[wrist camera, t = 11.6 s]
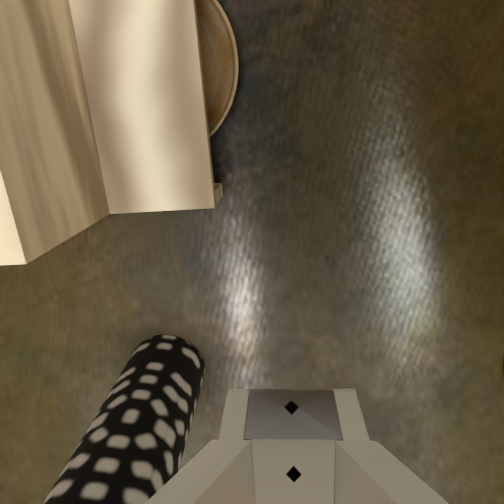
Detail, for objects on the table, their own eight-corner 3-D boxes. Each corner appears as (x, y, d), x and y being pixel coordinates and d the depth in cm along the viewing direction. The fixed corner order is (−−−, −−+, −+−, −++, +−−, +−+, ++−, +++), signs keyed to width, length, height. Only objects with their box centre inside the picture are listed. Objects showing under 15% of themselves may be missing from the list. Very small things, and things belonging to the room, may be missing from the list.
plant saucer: (38, 46, 34) (20, 40, 32) (170, -75, 31) (160, -92, 28) (145, 186, 38) (136, 191, 35) (274, 92, 34) (273, 91, 32)
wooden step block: (196, -90, 30) (104, -318, 14) (223, 195, 37) (182, 256, 21) (16, -68, 31) (-256, -258, 15) (76, 204, 39) (-67, 268, 23)
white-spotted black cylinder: (131, 330, 43) (18, 499, 24) (207, 339, 43) (152, 518, 24) (131, 392, 46) (29, 588, 27) (202, 402, 46) (150, 605, 27)
